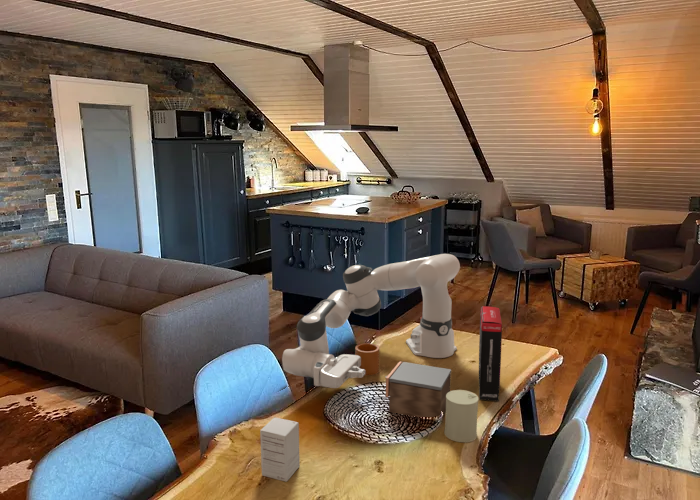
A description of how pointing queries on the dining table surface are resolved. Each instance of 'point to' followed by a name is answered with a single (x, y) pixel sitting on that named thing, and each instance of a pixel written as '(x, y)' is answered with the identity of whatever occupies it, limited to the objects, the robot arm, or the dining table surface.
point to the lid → (418, 376)
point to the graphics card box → (490, 353)
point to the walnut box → (418, 399)
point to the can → (461, 416)
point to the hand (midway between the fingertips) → (363, 373)
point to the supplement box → (280, 449)
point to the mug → (368, 357)
